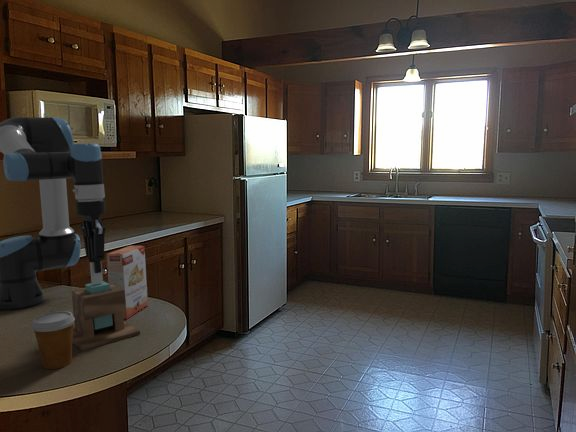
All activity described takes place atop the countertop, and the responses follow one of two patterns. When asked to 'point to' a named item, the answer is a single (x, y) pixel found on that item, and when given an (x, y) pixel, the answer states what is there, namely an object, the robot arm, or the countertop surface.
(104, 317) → the block
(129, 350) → the countertop surface
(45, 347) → the disposable coffee cup
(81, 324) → the chute
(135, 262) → the cracker box
